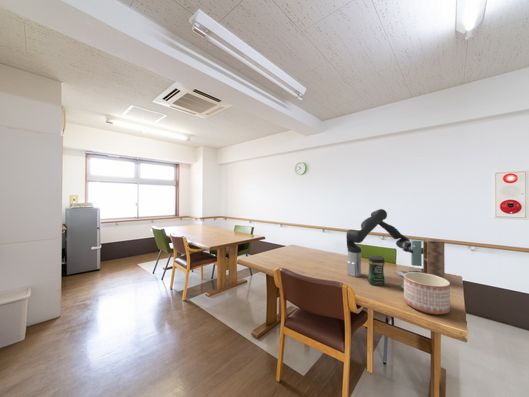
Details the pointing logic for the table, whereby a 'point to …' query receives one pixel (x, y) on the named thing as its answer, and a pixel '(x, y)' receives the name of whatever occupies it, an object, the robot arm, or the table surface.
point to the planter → (427, 293)
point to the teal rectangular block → (416, 253)
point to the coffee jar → (376, 270)
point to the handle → (401, 276)
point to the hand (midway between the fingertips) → (417, 252)
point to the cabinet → (432, 258)
